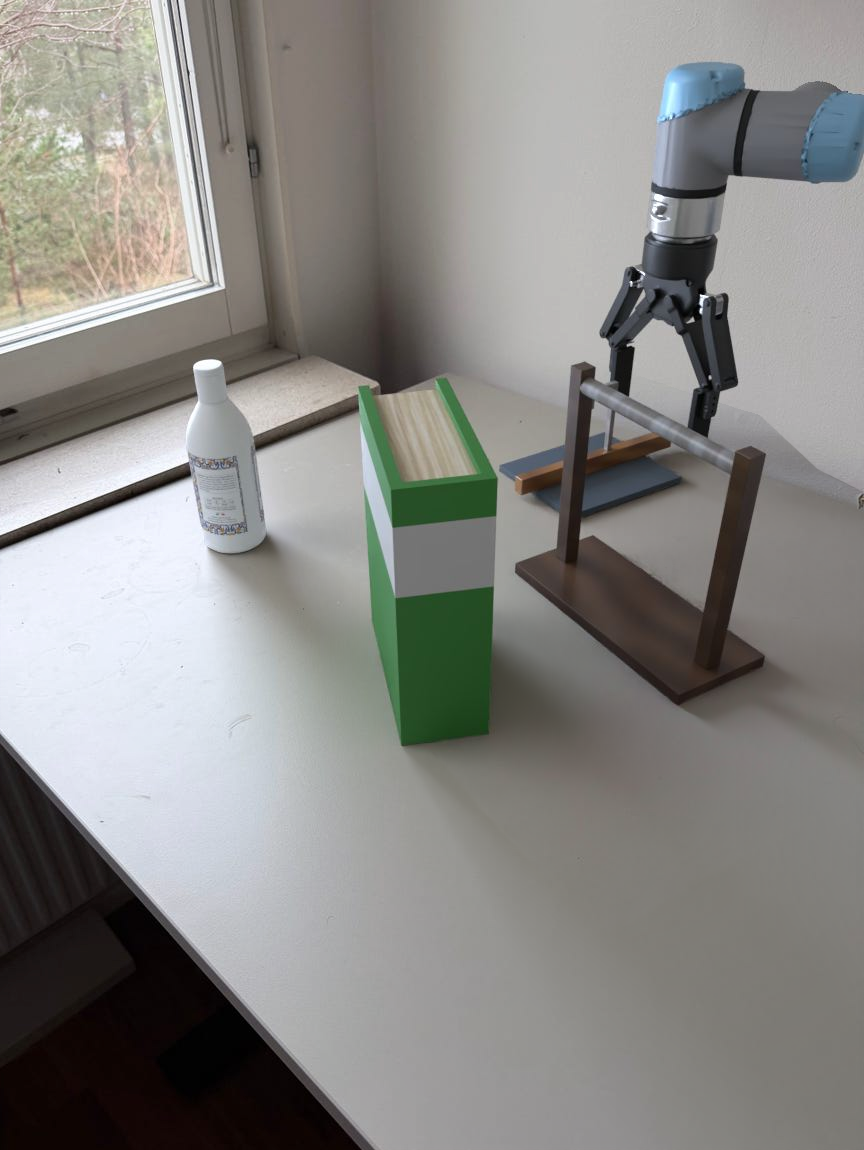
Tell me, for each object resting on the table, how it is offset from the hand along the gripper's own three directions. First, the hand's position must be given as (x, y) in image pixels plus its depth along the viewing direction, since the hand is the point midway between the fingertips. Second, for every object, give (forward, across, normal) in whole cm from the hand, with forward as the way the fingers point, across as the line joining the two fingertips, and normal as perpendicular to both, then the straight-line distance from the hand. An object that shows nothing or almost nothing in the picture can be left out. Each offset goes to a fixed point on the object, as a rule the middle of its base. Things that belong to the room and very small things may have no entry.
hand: (655, 420), depth 115 cm
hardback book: (+5, +21, -44) cm, 49 cm away
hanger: (+4, 0, -9) cm, 9 cm away
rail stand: (+5, +24, -24) cm, 34 cm away
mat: (+5, 0, -10) cm, 11 cm away
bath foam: (+5, -10, -50) cm, 52 cm away
